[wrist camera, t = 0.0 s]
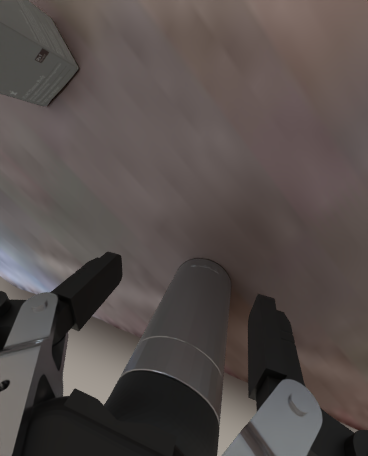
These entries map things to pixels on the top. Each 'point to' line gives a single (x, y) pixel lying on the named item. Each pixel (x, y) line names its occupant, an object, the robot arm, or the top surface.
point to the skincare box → (32, 54)
